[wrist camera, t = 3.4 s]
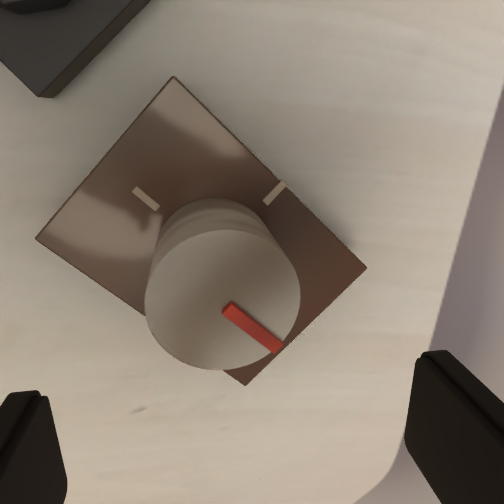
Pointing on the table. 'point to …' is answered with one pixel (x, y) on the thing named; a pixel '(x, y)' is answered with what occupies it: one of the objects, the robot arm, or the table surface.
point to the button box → (58, 37)
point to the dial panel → (180, 194)
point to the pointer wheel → (220, 287)
